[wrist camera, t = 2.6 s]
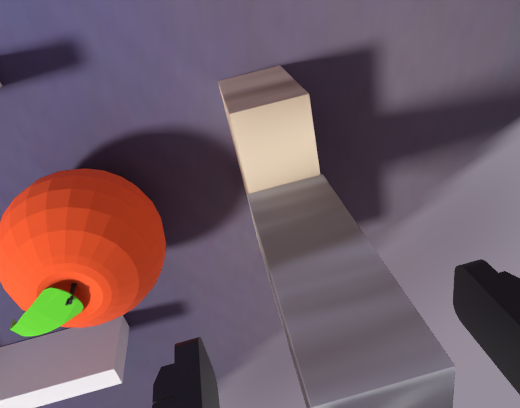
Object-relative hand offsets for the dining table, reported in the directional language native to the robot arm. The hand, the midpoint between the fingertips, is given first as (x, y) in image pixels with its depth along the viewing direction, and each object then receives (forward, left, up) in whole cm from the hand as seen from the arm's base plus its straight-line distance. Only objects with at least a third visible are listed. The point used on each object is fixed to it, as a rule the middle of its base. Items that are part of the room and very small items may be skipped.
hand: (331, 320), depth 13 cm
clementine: (0, -9, -11) cm, 14 cm away
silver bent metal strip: (0, 0, -11) cm, 11 cm away
